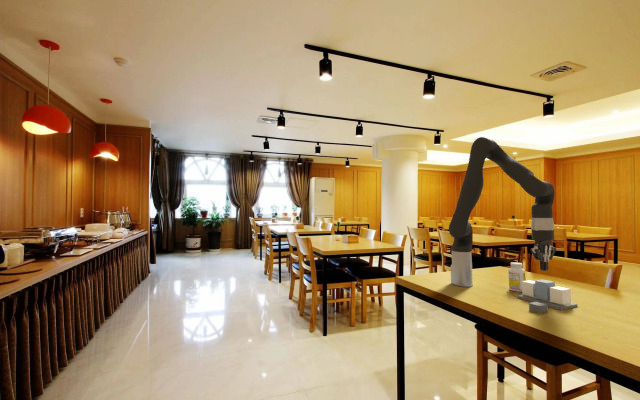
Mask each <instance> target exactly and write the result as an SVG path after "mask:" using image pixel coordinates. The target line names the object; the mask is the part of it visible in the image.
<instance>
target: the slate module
mask: <svg viewBox="0 0 640 400" xmlns="http://www.w3.org/2000/svg"><path fill="white" fill-rule="evenodd" d="M534 281H535V292H536V298H539V299H543V300H547V301H548V300H550V287H556V286H555V284H556V283H555V281H552V280H548V279H547V280H546V279H537V280H536V279H535V280H534Z"/></svg>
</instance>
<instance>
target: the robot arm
mask: <svg viewBox="0 0 640 400" xmlns="http://www.w3.org/2000/svg"><path fill="white" fill-rule="evenodd" d="M486 159H487V160H490V161H491V162H493V163H494V164H496V165H497V166H498V167H500V168H501V170H502V171H503V172H504V173H505V175H506V176H507V177H509V178H510V179H512V180H513V181H514V182H515V183H517V184H518V185H519V186H520V187H521V189H523V191H525V192H526V193H527V195H530V196H531V197H532V198H534V204H532V206H531V221H530V228H531V240H533V241H534V243H533V244H534V245H533V248H530V250H529V251H530V252H531V254H532V256H533V258H534V259H535V261H538V262H539V268H540V271H544V272H547V271H549V262H550V260H553V257H554V255H555V254H556V251H557V247H556V246H555V247H554V246H553V243H552V241H555V223H554V215H553V204H554V199H555V193H556V191H555V187H554V185H553V184H552V183H550V182H549V181H544V180H541V179H539V178H538V177H536V176H535V174H534V172H533V171H531V169H528V167H526V166H525V165H523V164H522V163H521V162H519V161H517V160H516V159H515V158H513V157H512V156H511V155H509V153H507V152H506V151H505V150H504V149H503V148H502V147H501V146H500V145H499V144H498V143H497V141H495V140H494V139H491V138H488V137H485V136H480V137H477V138H475V139H474V141H473V142H472V144H471V147H470V153H469V158H468V163H467V164H468V165H467V166H466V167H467V168H466V170H465V171H466V172H465V175H464V179H463V181H462V184H461V188H460V191H459V196H458V199H457V202H456V207H455V210H454V212H453V215H452V218H451V220H450V222H449V224H448V233H449V235H450V236H451V237H452V238H453V243H452V245H451V264H450V283H451V284H452V285H454V286H457V287H464V288H466V287H473V286H474V285H473V261H472V260H473V258H472V247H473V245H474V244H473V238H474V236H473V234H474V232H473V226H472V224H471V222H469V219H470V216H471V213H472V211H473V210H474V209H475V206H476V205H477V204H478V202H479V200H480V198H481V195H482V191H483V188H484V184H485V183H484V182H485V181H484V164H485V161H486Z"/></svg>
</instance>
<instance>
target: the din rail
mask: <svg viewBox="0 0 640 400" xmlns="http://www.w3.org/2000/svg"><path fill="white" fill-rule="evenodd" d="M535 281H536V280H530V279H529V280H526V281H522V292H521V294H517V295H516V298H517V299H520V300H524V301H527V302H530V303H531V302H539V303H543V304H546V305H547V308H548V307H549V308H552V309H556V310H559V311H563V310H564V311H565V310H569V309H573V308H578V307H579V306H578V303H575V302H572V296H571V295H572V292H571V288H567V287H562V286H559V285H558V286H555V287H550V300H548V301H547V300H543V299H539V298H536V292H535Z"/></svg>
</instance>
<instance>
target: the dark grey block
mask: <svg viewBox="0 0 640 400" xmlns="http://www.w3.org/2000/svg"><path fill="white" fill-rule="evenodd" d="M528 309H529V311H530V312H533V313H535V314H539V315H541V314H542V315H543V314H547V313H548V312H549V311H548V306H547V305H546V304H543V303H539V302H531V301H530V302H529V303H528Z"/></svg>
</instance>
